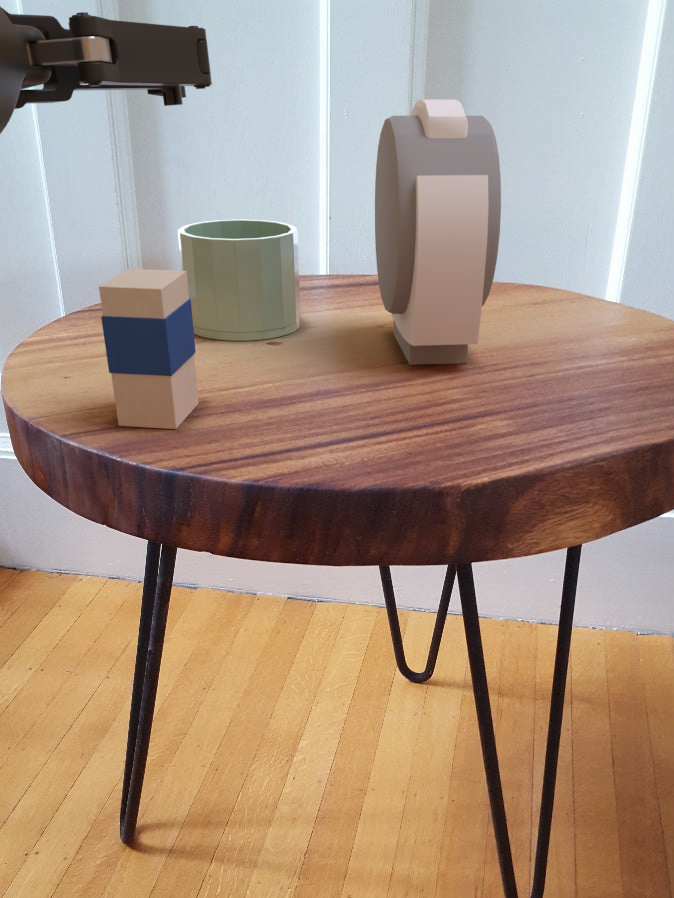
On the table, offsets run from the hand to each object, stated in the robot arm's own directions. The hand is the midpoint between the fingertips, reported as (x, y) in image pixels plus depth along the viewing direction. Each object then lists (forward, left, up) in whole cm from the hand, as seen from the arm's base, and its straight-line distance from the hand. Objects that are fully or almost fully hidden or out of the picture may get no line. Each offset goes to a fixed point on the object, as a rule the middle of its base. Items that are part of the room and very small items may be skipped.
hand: (62, 78), depth 56 cm
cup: (+1, +34, -22) cm, 40 cm away
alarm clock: (+20, +29, -23) cm, 42 cm away
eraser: (+1, +7, -22) cm, 23 cm away
